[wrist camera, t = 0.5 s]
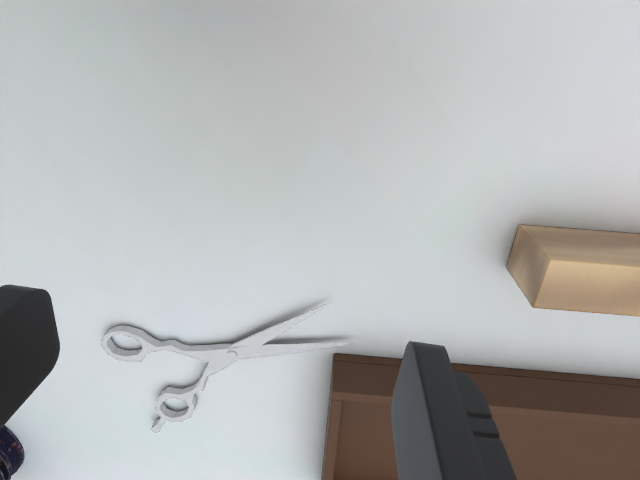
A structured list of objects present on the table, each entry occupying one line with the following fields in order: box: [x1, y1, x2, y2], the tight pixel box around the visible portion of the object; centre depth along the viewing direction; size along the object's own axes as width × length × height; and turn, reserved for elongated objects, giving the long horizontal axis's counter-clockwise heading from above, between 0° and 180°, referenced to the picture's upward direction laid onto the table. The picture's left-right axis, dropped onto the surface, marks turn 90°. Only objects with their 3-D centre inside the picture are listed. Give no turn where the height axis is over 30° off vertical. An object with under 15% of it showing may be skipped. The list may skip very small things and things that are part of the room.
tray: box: [322, 354, 640, 480], centre depth 33 cm, size 16×32×4 cm, turn 87°
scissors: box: [101, 302, 357, 433], centre depth 32 cm, size 11×1×20 cm
